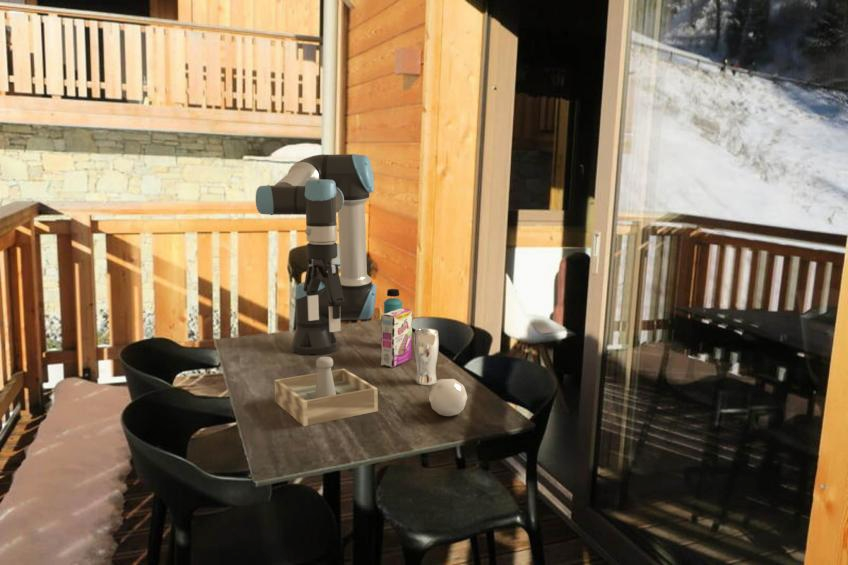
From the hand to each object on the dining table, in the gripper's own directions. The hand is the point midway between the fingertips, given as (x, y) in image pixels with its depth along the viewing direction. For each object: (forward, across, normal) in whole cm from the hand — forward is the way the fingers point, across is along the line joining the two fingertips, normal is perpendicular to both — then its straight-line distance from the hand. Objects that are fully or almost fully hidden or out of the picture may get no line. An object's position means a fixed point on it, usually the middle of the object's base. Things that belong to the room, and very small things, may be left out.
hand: (323, 325), depth 180 cm
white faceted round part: (+22, +19, +25) cm, 38 cm away
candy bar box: (+22, -25, +35) cm, 48 cm away
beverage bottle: (+22, -42, +43) cm, 64 cm away
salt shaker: (+22, 0, 0) cm, 22 cm away
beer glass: (+22, -4, +33) cm, 40 cm away
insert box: (+21, 0, 0) cm, 21 cm away
